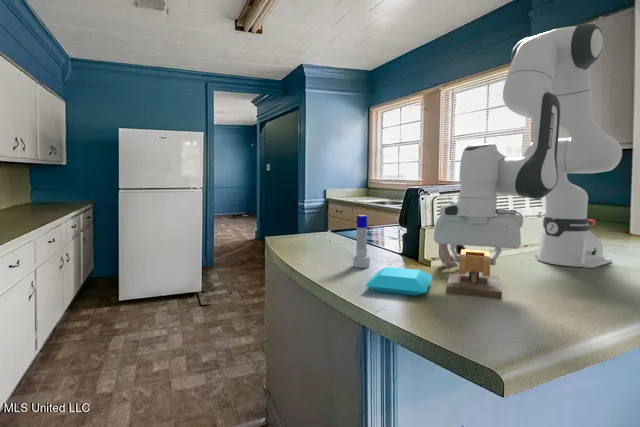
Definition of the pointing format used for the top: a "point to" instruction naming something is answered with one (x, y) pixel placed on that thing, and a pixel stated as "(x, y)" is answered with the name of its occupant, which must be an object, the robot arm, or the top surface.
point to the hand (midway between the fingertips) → (474, 263)
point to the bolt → (361, 244)
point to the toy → (448, 255)
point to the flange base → (474, 285)
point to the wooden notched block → (474, 262)
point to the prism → (400, 281)
